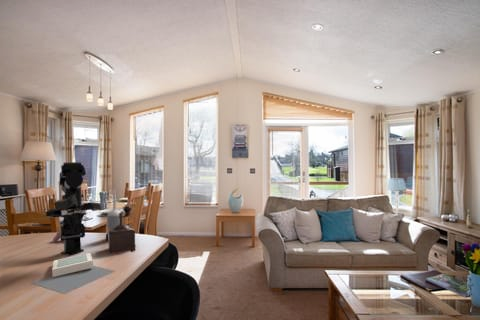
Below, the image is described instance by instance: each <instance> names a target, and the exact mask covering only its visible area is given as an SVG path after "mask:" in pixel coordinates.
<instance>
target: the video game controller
mask: <svg viewBox="0 0 480 320" xmlns="http://www.w3.org/2000/svg"><path fill="white" fill-rule="evenodd" d="M62 237H63V236H62ZM60 239H61V229H60V230H58V232H57V233H56V234H55V236H54V237H53V239H52V243H57V242H58V241H59V240H60ZM63 242H64V240H63Z"/></svg>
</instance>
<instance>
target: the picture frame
mask: <svg viewBox="0 0 480 320" xmlns="http://www.w3.org/2000/svg"><path fill="white" fill-rule="evenodd" d="M93 266H94V261H93V257H92V253H90V252H89V253H83V254H80V255H79V254H78V255H74V256H70V257H63V258H60V259H56V260H53V264H52V268H51V270H52V272H51V273H52V275H53V277H56V276H60V275H64V274H68V273H72V272H77V271H81V270H85V269H89V268H93Z"/></svg>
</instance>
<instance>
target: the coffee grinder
mask: <svg viewBox="0 0 480 320" xmlns="http://www.w3.org/2000/svg"><path fill="white" fill-rule="evenodd" d="M132 210H133V207H132V206H131V205H127V206H126V205H125V206H124V207H123V211H124V215H123V213H122V212H121V213H119V215H120V216H119V218H120V224H119V225H117V226H115V227H114V228H108V241H107V242H108V244H107V245H108V246H107V250H108V252H109V254H114V253H121V252H126V251H129V252H135V251H136V230H135V228H134V227H133V225H132V224H130V222H129V223H128V224H127V223H123V219H124V218H128V217H130V216H131V214H132V213H131V211H132Z"/></svg>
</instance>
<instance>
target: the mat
mask: <svg viewBox="0 0 480 320" xmlns="http://www.w3.org/2000/svg"><path fill="white" fill-rule="evenodd" d="M115 272H116V270H113V269H109V268H105V267H100V266H96V265H93V268H89V269H85V270H81V271H77V272H72V273H68V274H64V275H60V276H56V277H53V274H52V275H49V276H47V277H44V278H41V279H39V280H35V281H33V282H31V284H32V285H35V286H38V287H42V288H43V289H47V290H48V289H49V290H52V291H54V292H57V293H59V294H64V295H65V294H69V293H71V292H72V291H75V290H78V289H79V288H81V287H84V286H86V285H88V284H90V283H92V282H95V281H97V280H99V279H101V278H104V277H106V276H108V275H110V274H112V273H115Z"/></svg>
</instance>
